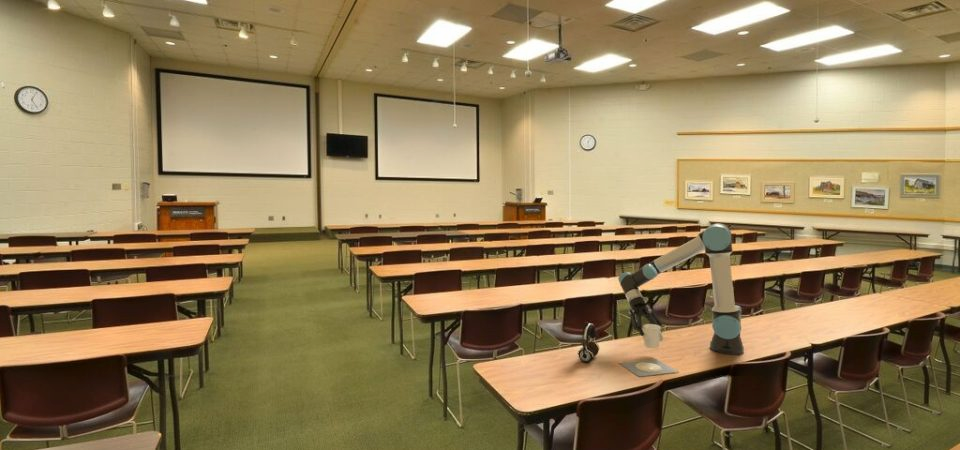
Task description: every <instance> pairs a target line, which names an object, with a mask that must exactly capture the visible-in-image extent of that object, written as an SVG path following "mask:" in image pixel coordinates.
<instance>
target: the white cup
mask: <svg viewBox="0 0 960 450" xmlns="http://www.w3.org/2000/svg"><path fill="white" fill-rule="evenodd" d="M642 328H644V330H645V332H646V334H647V336H648V339H649V341H648V342H647V343H645V341H644V340H643V344H644V347H645V348H648V349H658V348H659V347H660V342H661V341H660V328H661V326H659V325H655V324H651V323H646V324H643V327H642ZM661 329H662V328H661Z"/></svg>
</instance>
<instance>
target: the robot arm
mask: <svg viewBox="0 0 960 450" xmlns="http://www.w3.org/2000/svg"><path fill="white" fill-rule="evenodd" d="M702 252H704V253H705V255H706V256H708V258H709V265H710V273H711V275H710V276H711V282H712V294H713V301H714V302H713V303H714V306H713V307H712V308H711V314H712V315H711V316H712V324H711V325H712V327H711V328H712V330H713V335H712V338H711V340H710V341H709V348H710V349H711V350H713V351H714V352H718V353H722V354H726V355H741V354H743V353H744V352H745V347H744V345H743V341H742V338H741V332H742V324H741V323H742V306H740V305H735V304H736V302H735V295H734V286H733V284H734V283H733V278H732V267H731V259H730V256H731V254H732V253H733V242H732V231H731V229H730V228H729V227H728V226H727V225H726V224H724V223H720V222H719V223H718V222H717V223H713V224H711V225H709V226H708V227H707V228H705V229H704V230H703V231H701V232H700V233H697V235H696V237H695V238H693V239H691V240H689V241H687V242H686V243H683V244H682V245H679V246H678V247H676V248H674V249H672V250H671V251H669V252H667V253H665V254H663V255H661V256H660V257H658V258H655V259H654V260H652V261H650V262H649V263H648V262H647V263H645V264H644V265H643V266H642V267H641V268H639V269H638V270H636V271H635V272H633V273H631V272H628V271H626V272H624V273H623V272H622V273H621V274H620V275H619V276H618V282H619V285H620V287H621V289H622V292H623V294H624V295H625V297H626V300H627V302H628V304H629V307H630V309H629V311H628V312H627V314H628V315H629V318H630V321H631V324H632V328H633V330H635V331H637V332H638V333H639V335H640V336H641V337H642V338H643V342H644V341H645V343H647V342H648V341H649V339H648V336H647V334H646V332H645V330H644V328H643V327H642V317H644V318H645V319H647V320H648V321H649V323H650V324H655V325H659V326H660V327H661V326H662V325H663V323H662V321H661V320H660V318H659V316H658V315H657V313H656V312H655V308H654V307H651V308H649V307H648V306H647V304H646V301H645V299H644V297H643V294H642V293H641V291H640V289H639V287H641V286H643V285H645V284H646V283H648V282H651V280H654V279H655V278H656V277H658V276H659V275H660V274H662V273H664V272H665V271H667V270H670V269H671V268H673V267H675V266H677V265H679V264H681V263H684V261H687V260H689V259H691V258H693V257H695V256H696V255H698V254H700V253H702ZM663 340H665V337H664V335H663V330H662V328H660V341H659V342H662V341H663Z"/></svg>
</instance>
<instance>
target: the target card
mask: <svg viewBox="0 0 960 450" xmlns="http://www.w3.org/2000/svg"><path fill="white" fill-rule="evenodd" d="M618 364H619V365H620V366H622V368H625V369H626V370H627V371H628V372H630V373H632V374H634V375H636V376H637V377H638V378H645V377H651V376H652V375H654V376H659V375H658V374H662V375H669V374H668V373H671V374H676V373H675V372H679V371H678V370H677V369H675V368H674V367H672V366H670V365H668V364H666V363H665V362H663V361H662V360H659V359H658V358H654V359H653V358H651V359H642V360H633V361H632V360H631V361H625V362H623V361H622V362H618Z"/></svg>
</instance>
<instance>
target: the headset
mask: <svg viewBox="0 0 960 450" xmlns="http://www.w3.org/2000/svg"><path fill="white" fill-rule="evenodd" d="M596 337H597V332H596V326H595V325H594V323H590V322H588V321H584V323H583V329H582V339H581V341H580V345H581V346H582V347H580V349H578V351H577V355H578V358H579V360H580V361H582V362H583V363H591V362H592V361H593V360H594V358H595V357H596V356H597V355H598V354H599V350H600V345H599V344H598V342H596V340H595V339H596ZM589 338H590V340H589ZM592 339H593V341H592Z"/></svg>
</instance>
